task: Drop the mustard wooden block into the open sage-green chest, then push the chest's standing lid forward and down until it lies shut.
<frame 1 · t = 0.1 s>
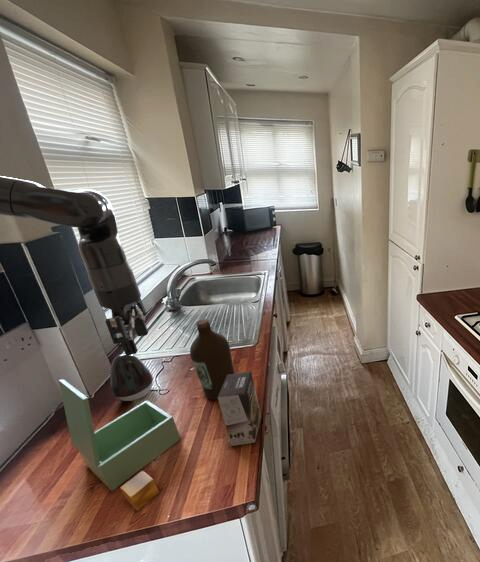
hand: (138, 343, 75), 27 cm above the worktop, tool pointing down, fingers open, 8 cm apart
coffee box: (247, 431, 83), on the worktop
chest: (136, 452, 78), on the worktop
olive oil: (221, 389, 99), on the worktop
chest lid: (79, 422, 67), point 16 cm above the worktop, hinge at 80.0°
block: (143, 496, 68), on the worktop
dark rounded dome: (138, 395, 98), on the worktop
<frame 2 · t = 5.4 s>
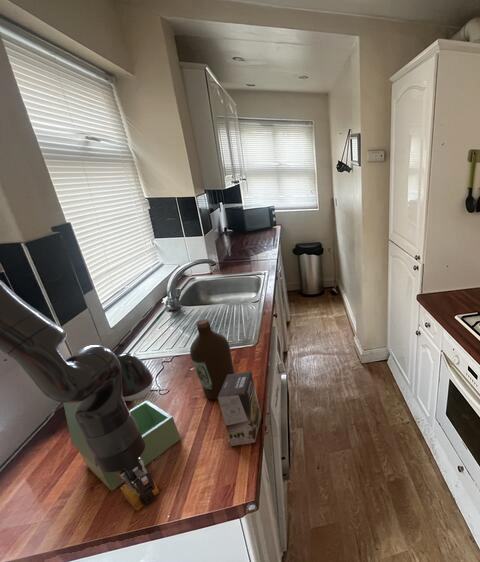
hand: (142, 495, 67), 0 cm above the worktop, tool pointing down, fingers closed on block, 4 cm apart
block: (143, 496, 68), on the worktop, touching gripper
everything else where it was.
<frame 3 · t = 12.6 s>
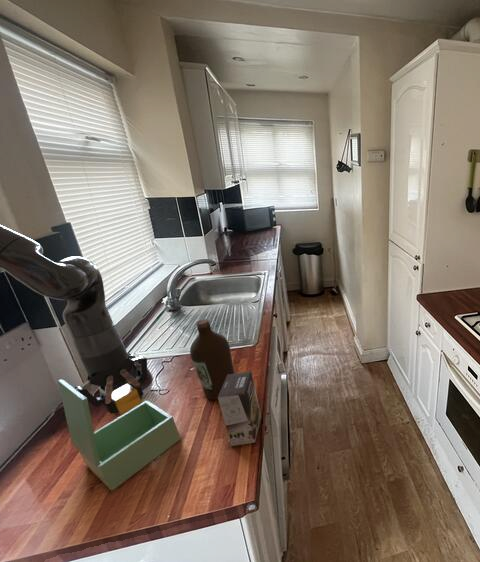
hand: (127, 405, 74), 14 cm above the worktop, tool pointing down, fingers closed on block, 4 cm apart
chest lid: (78, 422, 67), point 16 cm above the worktop, hinge at 80.4°
block: (127, 406, 75), point 13 cm above the worktop, touching gripper
everything else where it was.
when the fingers open (7 cm above the worktop, at t = 14.6 s): block drops 6 cm, resting on chest.
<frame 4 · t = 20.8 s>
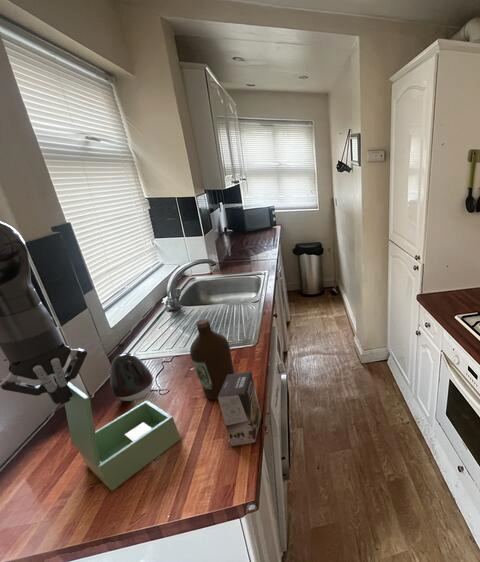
hand: (64, 401, 64), 23 cm above the worktop, tool pointing down, fingers closed
chest lid: (80, 421, 67), point 16 cm above the worktop, hinge at 79.1°, touching gripper
block: (143, 443, 79), point 1 cm above the worktop, touching chest
everything else where it was.
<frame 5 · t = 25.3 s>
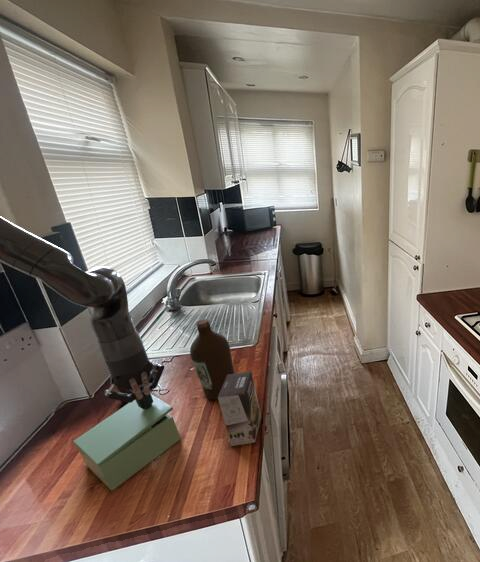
hand: (146, 406, 79), 10 cm above the worktop, tool pointing down, fingers closed
chest lid: (125, 424, 75), point 9 cm above the worktop, hinge at 6.3°
everything else where it was.
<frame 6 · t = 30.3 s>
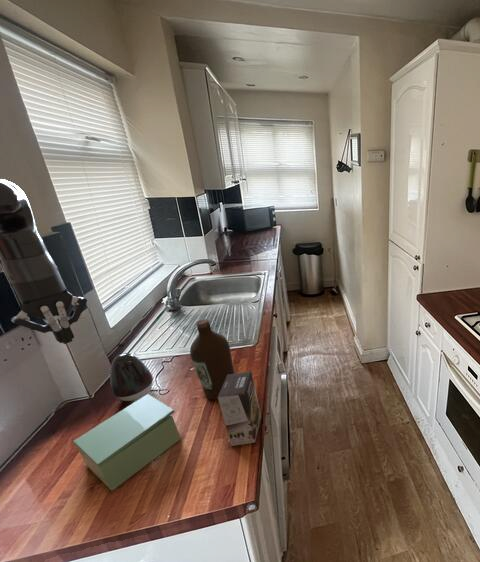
hand: (67, 341, 74), 29 cm above the worktop, tool pointing down, fingers closed
chest lid: (126, 425, 75), point 9 cm above the worktop, hinge at 2.8°
everything else where it was.
at the end: block inside the target area in the chest (2.0 cm from its centre), point 0.8 cm above the chest's base; chest lid at +3° (first picture: +80°) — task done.
